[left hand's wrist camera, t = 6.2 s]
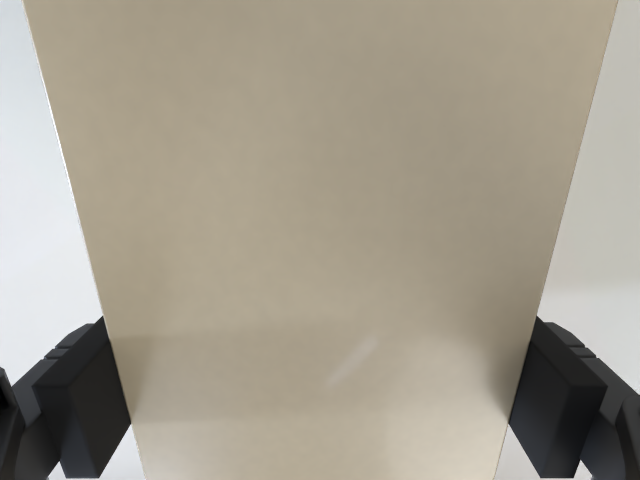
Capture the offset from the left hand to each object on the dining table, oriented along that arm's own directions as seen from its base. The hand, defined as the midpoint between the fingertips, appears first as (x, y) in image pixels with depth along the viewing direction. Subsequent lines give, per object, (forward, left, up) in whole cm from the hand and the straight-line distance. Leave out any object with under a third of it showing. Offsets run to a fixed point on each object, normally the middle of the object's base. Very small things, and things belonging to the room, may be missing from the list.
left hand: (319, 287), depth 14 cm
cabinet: (+6, -1, -6) cm, 8 cm away
